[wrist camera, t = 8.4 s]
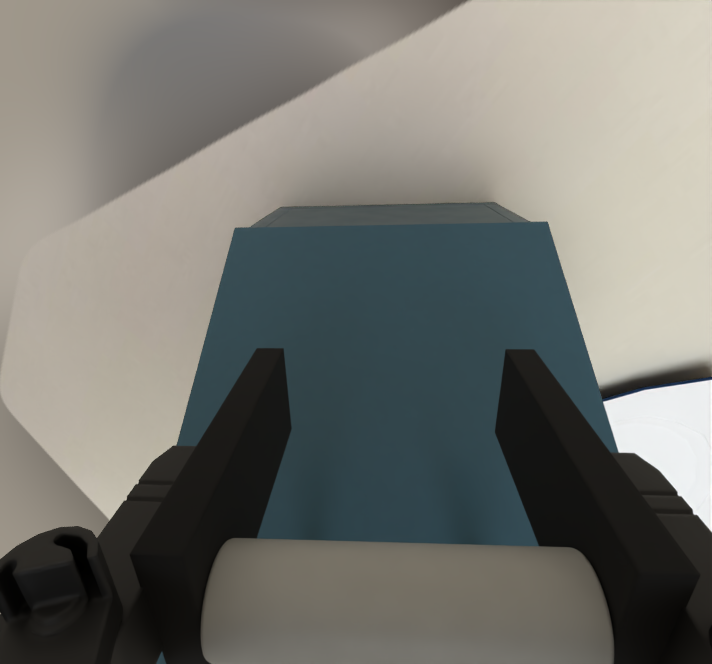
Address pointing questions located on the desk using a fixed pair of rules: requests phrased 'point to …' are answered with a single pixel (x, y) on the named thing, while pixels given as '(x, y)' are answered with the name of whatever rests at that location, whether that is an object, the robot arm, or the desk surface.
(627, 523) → the robot arm
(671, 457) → the plate
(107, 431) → the desk surface
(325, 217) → the chest
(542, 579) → the lid
